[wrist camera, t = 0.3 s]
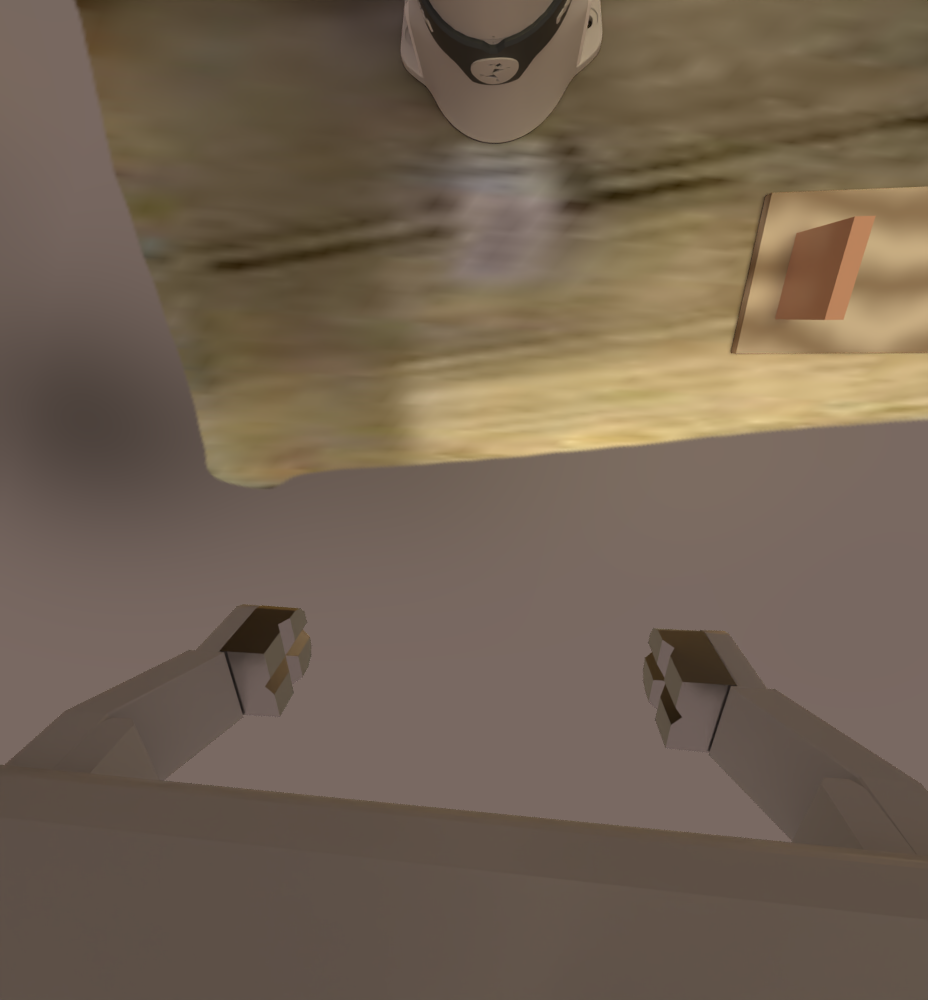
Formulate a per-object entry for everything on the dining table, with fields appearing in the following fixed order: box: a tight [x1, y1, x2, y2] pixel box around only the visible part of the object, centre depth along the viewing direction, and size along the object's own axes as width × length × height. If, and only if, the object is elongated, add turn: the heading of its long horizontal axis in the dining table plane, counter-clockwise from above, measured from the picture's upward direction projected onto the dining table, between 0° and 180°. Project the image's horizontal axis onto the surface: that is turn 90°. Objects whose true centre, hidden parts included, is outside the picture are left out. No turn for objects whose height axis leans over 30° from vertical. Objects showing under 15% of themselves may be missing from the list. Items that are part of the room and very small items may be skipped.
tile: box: [775, 216, 876, 320], centre depth 41 cm, size 8×2×8 cm, turn 1°
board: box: [731, 187, 928, 354], centre depth 45 cm, size 15×22×1 cm
